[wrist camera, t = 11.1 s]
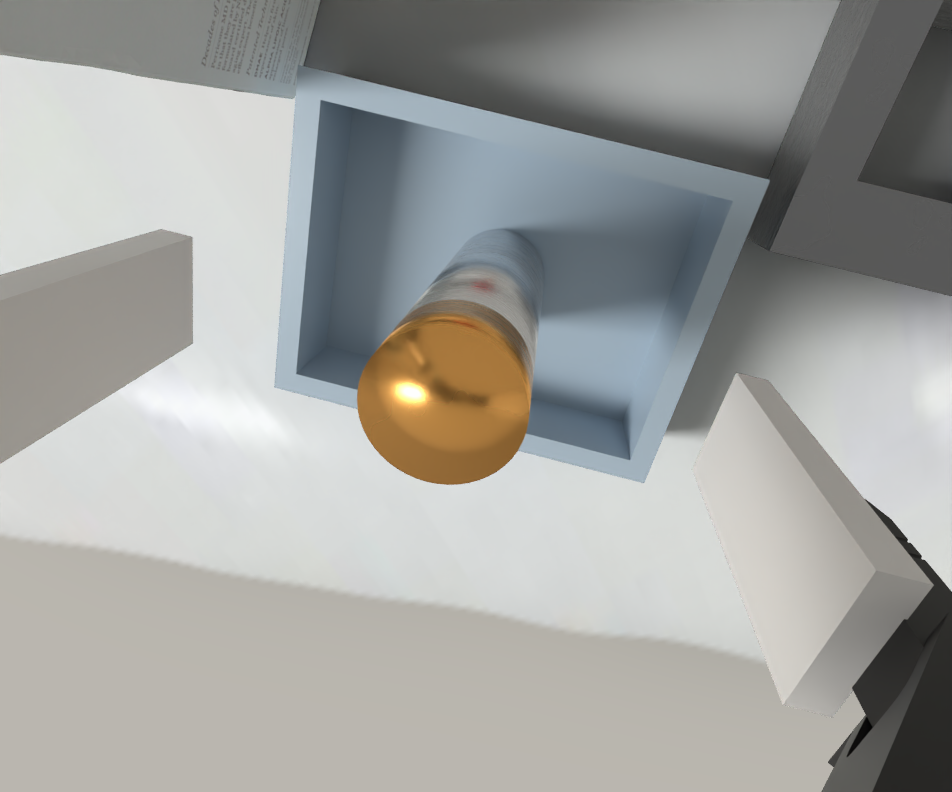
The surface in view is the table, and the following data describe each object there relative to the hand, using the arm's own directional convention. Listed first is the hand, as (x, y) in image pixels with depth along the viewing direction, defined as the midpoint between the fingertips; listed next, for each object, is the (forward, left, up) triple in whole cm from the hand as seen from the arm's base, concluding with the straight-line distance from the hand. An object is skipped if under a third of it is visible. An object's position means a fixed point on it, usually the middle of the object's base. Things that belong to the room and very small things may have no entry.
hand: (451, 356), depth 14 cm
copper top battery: (0, 0, -10) cm, 10 cm away
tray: (0, 0, -10) cm, 11 cm away
